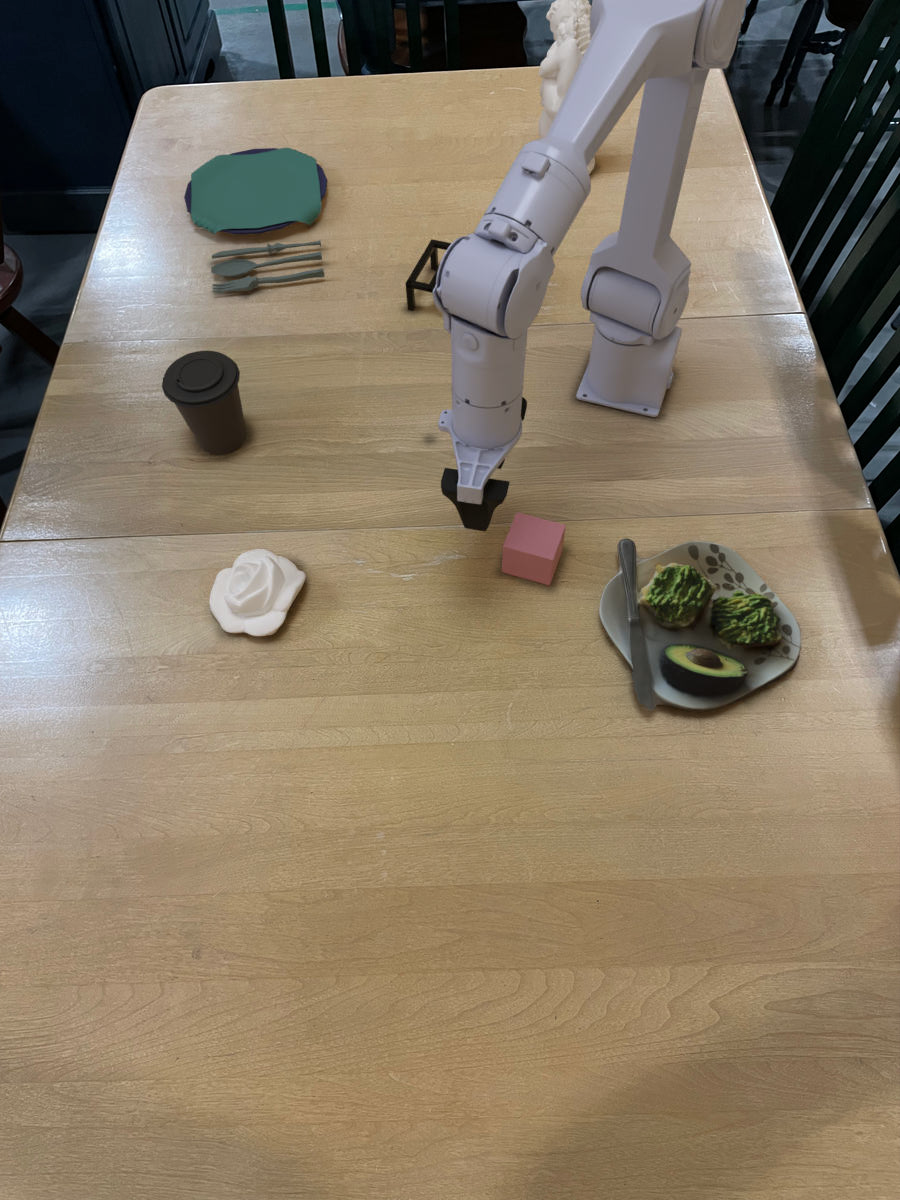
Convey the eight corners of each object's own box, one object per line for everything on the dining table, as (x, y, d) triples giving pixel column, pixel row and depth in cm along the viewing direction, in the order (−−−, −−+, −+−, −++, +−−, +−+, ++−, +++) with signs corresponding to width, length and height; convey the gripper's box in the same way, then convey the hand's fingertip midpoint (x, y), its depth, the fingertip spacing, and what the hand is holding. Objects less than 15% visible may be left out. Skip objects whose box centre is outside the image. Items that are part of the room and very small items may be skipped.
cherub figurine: (537, 142, 125) (547, -31, 106) (622, 146, 124) (647, -28, 105) (529, 191, 118) (539, 16, 100) (619, 196, 117) (645, 20, 99)
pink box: (562, 551, 86) (565, 524, 82) (549, 585, 84) (553, 560, 80) (515, 538, 87) (516, 511, 83) (501, 572, 85) (502, 546, 81)
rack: (520, 284, 108) (522, 257, 105) (498, 330, 104) (499, 303, 100) (432, 266, 111) (431, 238, 107) (407, 310, 106) (405, 283, 103)
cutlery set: (324, 153, 125) (321, 137, 123) (341, 283, 109) (338, 267, 107) (188, 169, 124) (184, 153, 122) (186, 302, 108) (180, 287, 106)
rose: (316, 597, 79) (215, 635, 77) (323, 621, 83) (227, 658, 81) (284, 519, 84) (188, 553, 82) (292, 545, 87) (201, 578, 86)
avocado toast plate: (549, 580, 84) (553, 553, 80) (700, 514, 88) (710, 485, 84) (658, 743, 75) (668, 722, 71) (821, 662, 78) (839, 637, 75)
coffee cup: (173, 453, 95) (142, 387, 86) (210, 404, 99) (184, 335, 90) (236, 473, 93) (211, 407, 84) (271, 421, 97) (251, 354, 88)
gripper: (456, 319, 72) (457, 433, 83) (417, 441, 64) (424, 549, 76) (538, 329, 71) (528, 444, 82) (509, 454, 63) (502, 562, 75)
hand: (483, 495), depth 79 cm, fingers open, 7 cm apart
